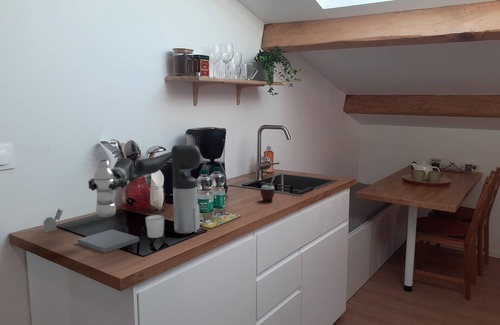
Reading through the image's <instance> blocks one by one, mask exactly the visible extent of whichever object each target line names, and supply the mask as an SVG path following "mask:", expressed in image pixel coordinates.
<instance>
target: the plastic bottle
mask: <svg viewBox="0 0 500 325" xmlns="http://www.w3.org/2000/svg"><path fill="white" fill-rule="evenodd" d="M97 167H98V168H97V169H96V170H95V172H94V174H93V179H94V180H95V185H96V189H95V191H96V206H95V211H96V215H97V216H98V217H100V218H109V217H113V216H114V215H115V214H116V211H117V207H116V203H115V196H114V190H112V189H111V184H112V183H113V179H114V175H113V172H112V171H111V170H110V169H111V168H110V162H109V159H100V160H97Z"/></svg>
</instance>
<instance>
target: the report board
mask: <svg viewBox="0 0 500 325" xmlns="http://www.w3.org/2000/svg"><path fill="white" fill-rule="evenodd" d="M139 242H140V237H139V236H136V235H133V234H130V233H126V232H123V231H119V230H116V229H109V230H105V231H101V232H98V233H95V234H91V235H88V236H84V237H82V238H78V239H77V243H78V244H79V245H82V246H85V247H88V248H91V249H93V250H97V251H99V252H102V253H105V254H106V253H109V252H111V251H116V250H118V249H120V248H123V247H127V246H130V245H132V244H135V243H139Z"/></svg>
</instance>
